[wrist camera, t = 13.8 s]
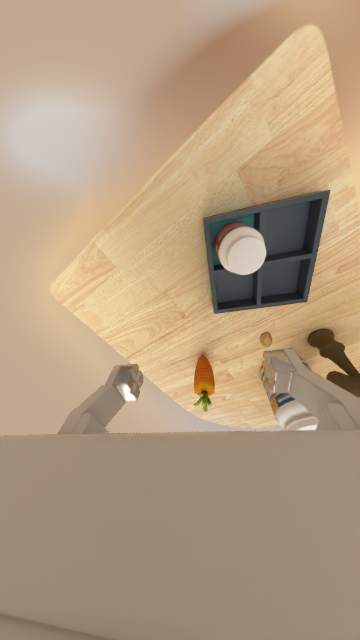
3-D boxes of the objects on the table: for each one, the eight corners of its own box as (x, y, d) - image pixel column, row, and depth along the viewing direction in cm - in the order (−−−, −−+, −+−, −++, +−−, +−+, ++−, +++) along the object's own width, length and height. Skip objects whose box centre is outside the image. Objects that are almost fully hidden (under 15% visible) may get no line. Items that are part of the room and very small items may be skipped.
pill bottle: (206, 243, 31) (210, 259, 22) (233, 212, 28) (250, 216, 19) (230, 266, 33) (242, 289, 24) (257, 239, 30) (283, 254, 21)
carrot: (207, 364, 49) (211, 417, 37) (191, 359, 49) (189, 411, 36) (215, 352, 47) (221, 406, 34) (198, 347, 46) (198, 399, 34)
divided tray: (202, 217, 30) (203, 219, 27) (315, 191, 27) (330, 190, 24) (213, 305, 39) (214, 313, 36) (298, 293, 36) (307, 301, 33)
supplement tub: (265, 352, 45) (296, 418, 31) (314, 355, 44) (369, 425, 30) (254, 382, 52) (275, 447, 38) (296, 385, 51) (334, 453, 37)
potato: (271, 331, 42) (274, 336, 40) (271, 344, 44) (273, 348, 42) (259, 333, 42) (261, 337, 41) (260, 345, 44) (262, 350, 43)
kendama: (338, 344, 42) (431, 435, 25) (295, 347, 44) (355, 435, 27) (346, 323, 39) (458, 413, 22) (298, 328, 40) (369, 414, 24)
